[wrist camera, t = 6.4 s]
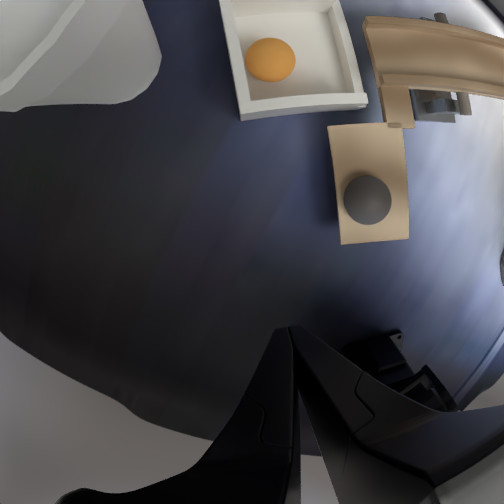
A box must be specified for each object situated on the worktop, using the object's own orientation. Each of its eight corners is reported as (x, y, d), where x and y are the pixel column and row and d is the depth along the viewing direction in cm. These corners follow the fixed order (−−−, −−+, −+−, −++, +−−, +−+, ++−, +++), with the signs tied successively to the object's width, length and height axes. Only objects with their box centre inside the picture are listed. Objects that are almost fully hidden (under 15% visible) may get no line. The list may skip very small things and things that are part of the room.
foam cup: (152, -3, 14) (88, -97, 2) (205, 74, 17) (155, -28, 5) (58, 66, 15) (-53, 35, 3) (98, 147, 18) (-36, 159, 6)
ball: (239, 85, 15) (269, 89, 18) (282, 71, 13) (308, 79, 16) (231, 43, 14) (261, 51, 17) (271, 25, 12) (299, 38, 15)
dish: (357, 110, 18) (377, 103, 15) (240, 121, 18) (240, 114, 15) (332, 8, 15) (346, -12, 12) (220, 14, 15) (217, -8, 12)
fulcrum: (452, 122, 18) (475, 122, 15) (415, 120, 18) (438, 118, 15) (430, 29, 15) (449, 20, 12) (391, 21, 15) (409, 8, 12)
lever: (550, 217, 15) (576, 231, 11) (338, 233, 21) (343, 254, 17) (533, 50, 9) (557, 44, 5) (302, 19, 16) (298, -6, 12)
